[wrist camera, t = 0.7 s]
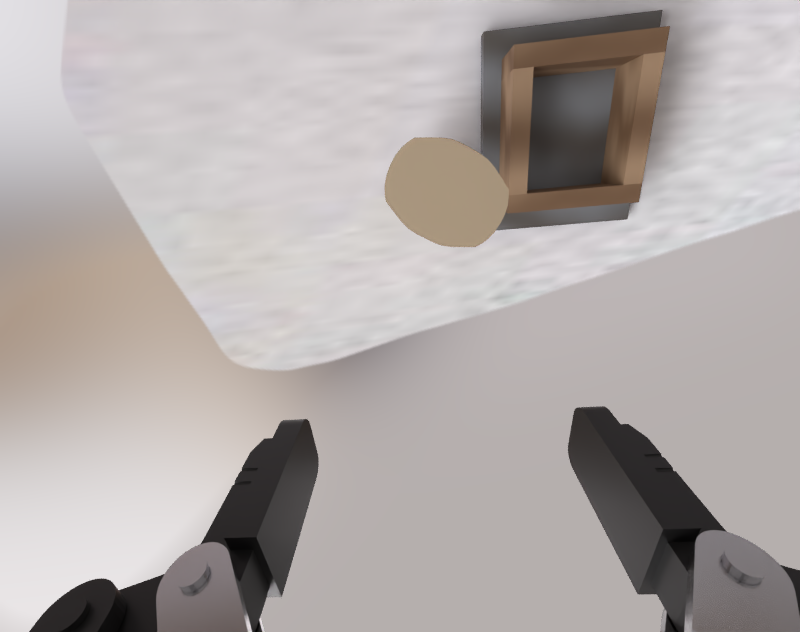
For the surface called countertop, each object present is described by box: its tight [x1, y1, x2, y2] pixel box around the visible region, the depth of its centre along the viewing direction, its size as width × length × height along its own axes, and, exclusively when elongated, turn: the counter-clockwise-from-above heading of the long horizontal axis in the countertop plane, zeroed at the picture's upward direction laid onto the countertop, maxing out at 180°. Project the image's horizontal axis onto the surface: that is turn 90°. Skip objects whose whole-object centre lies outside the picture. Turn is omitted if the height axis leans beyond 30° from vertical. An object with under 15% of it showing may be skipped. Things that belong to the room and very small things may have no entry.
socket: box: [481, 10, 670, 230], centre depth 27 cm, size 15×13×4 cm
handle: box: [385, 138, 509, 247], centre depth 24 cm, size 5×6×15 cm
